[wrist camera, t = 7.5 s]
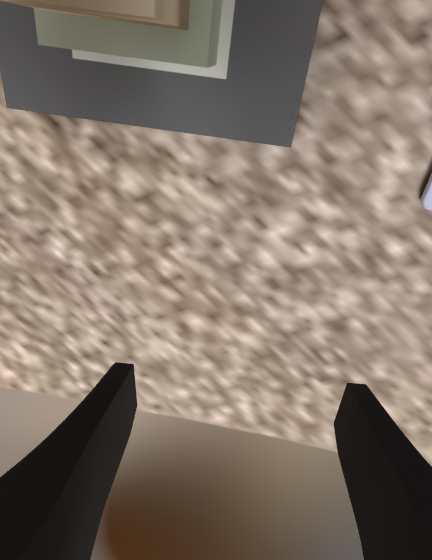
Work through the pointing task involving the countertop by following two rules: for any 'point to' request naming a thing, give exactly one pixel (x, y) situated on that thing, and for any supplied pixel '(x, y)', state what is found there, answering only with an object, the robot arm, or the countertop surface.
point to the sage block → (137, 35)
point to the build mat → (173, 76)
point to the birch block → (120, 10)
